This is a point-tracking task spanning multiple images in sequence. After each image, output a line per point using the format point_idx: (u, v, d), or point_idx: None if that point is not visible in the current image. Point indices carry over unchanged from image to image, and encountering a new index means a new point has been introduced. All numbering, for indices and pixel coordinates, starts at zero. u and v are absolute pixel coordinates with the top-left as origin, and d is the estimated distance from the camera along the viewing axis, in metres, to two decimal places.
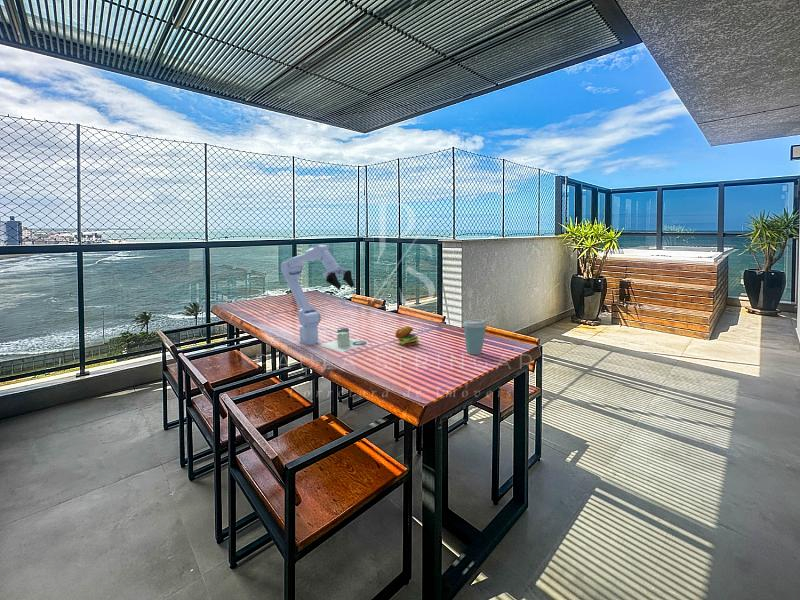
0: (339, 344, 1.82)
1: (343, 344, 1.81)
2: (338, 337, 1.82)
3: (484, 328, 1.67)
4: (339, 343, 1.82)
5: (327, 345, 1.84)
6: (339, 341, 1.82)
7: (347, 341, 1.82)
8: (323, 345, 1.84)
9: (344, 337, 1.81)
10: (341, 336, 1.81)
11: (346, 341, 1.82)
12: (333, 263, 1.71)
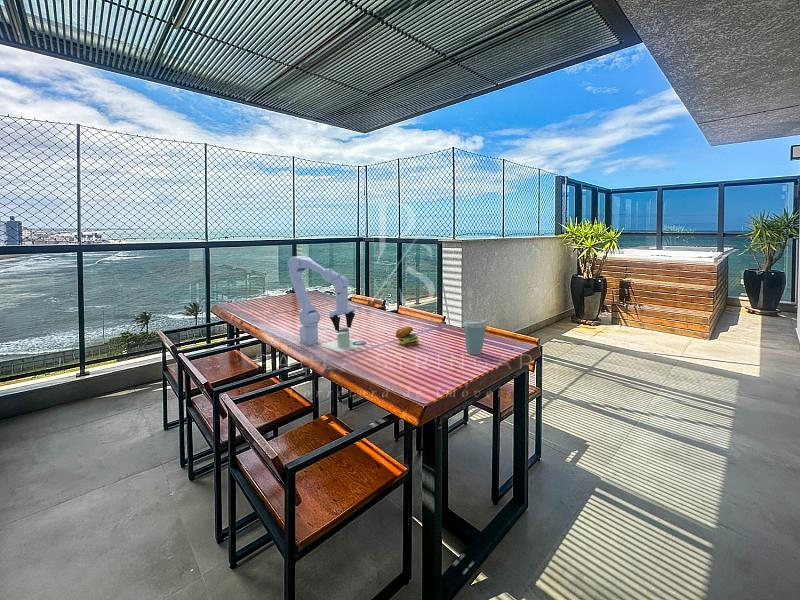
0: (339, 344, 1.82)
1: (343, 344, 1.81)
2: (338, 337, 1.82)
3: (484, 328, 1.67)
4: (339, 343, 1.82)
5: (327, 345, 1.84)
6: (339, 341, 1.82)
7: (347, 341, 1.82)
8: (323, 345, 1.84)
9: (344, 337, 1.81)
10: (341, 336, 1.81)
11: (346, 341, 1.82)
12: (344, 305, 1.78)
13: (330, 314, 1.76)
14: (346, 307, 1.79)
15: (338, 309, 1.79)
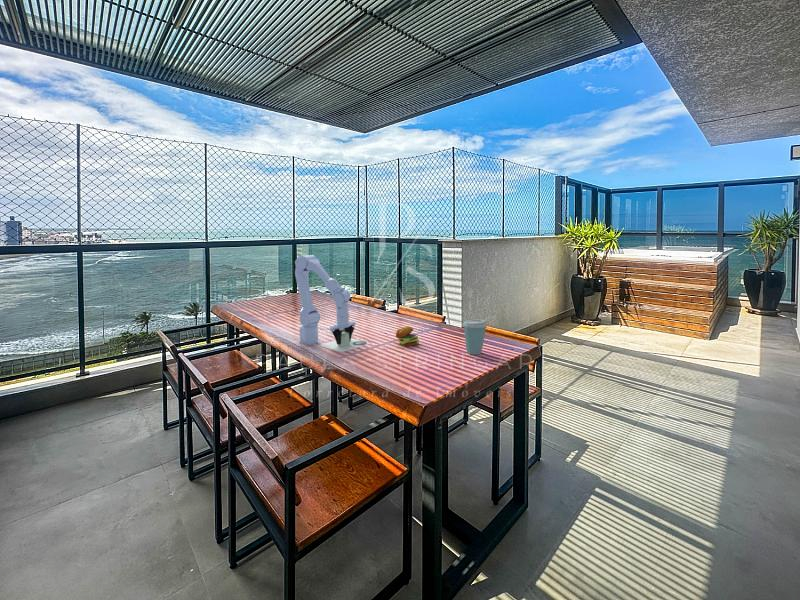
0: None
1: (343, 344, 1.81)
2: None
3: (484, 328, 1.67)
4: None
5: (327, 345, 1.84)
6: None
7: (347, 341, 1.82)
8: (323, 345, 1.84)
9: (344, 337, 1.81)
10: (341, 336, 1.81)
11: (346, 341, 1.82)
12: (345, 319, 1.80)
13: (331, 328, 1.77)
14: (347, 321, 1.81)
15: (339, 323, 1.80)
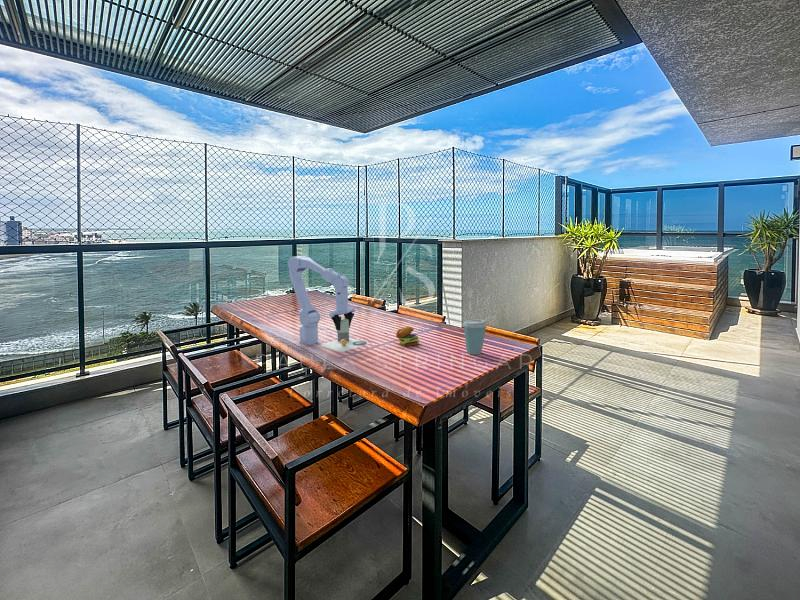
0: None
1: (342, 330, 1.80)
2: None
3: (484, 328, 1.67)
4: None
5: (327, 345, 1.84)
6: None
7: (346, 327, 1.81)
8: (323, 345, 1.84)
9: (343, 323, 1.80)
10: (340, 322, 1.79)
11: (346, 327, 1.81)
12: (344, 305, 1.78)
13: (330, 314, 1.76)
14: (346, 307, 1.79)
15: (338, 309, 1.79)
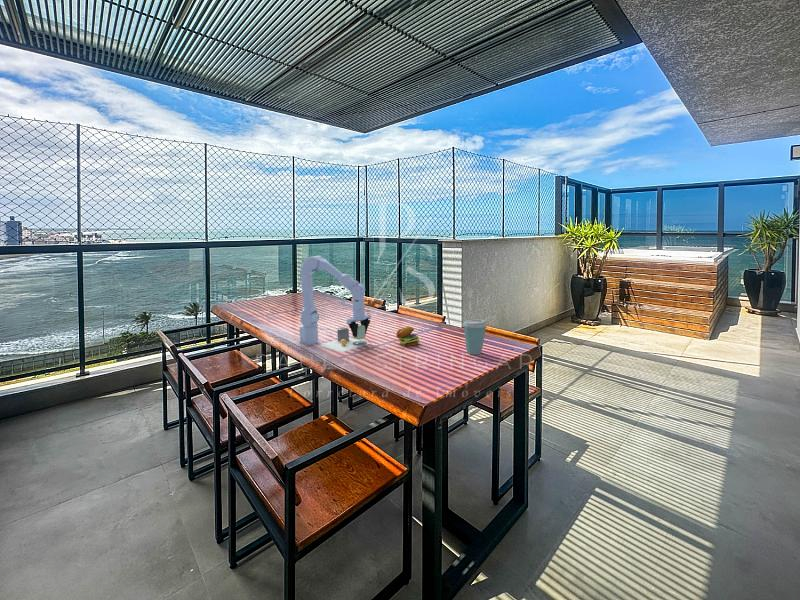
0: None
1: (359, 336, 1.84)
2: None
3: (484, 328, 1.67)
4: None
5: (327, 345, 1.84)
6: None
7: (363, 334, 1.84)
8: (323, 345, 1.84)
9: (360, 330, 1.83)
10: (357, 329, 1.83)
11: (363, 334, 1.84)
12: (361, 312, 1.82)
13: (347, 321, 1.80)
14: (363, 314, 1.83)
15: (355, 316, 1.82)
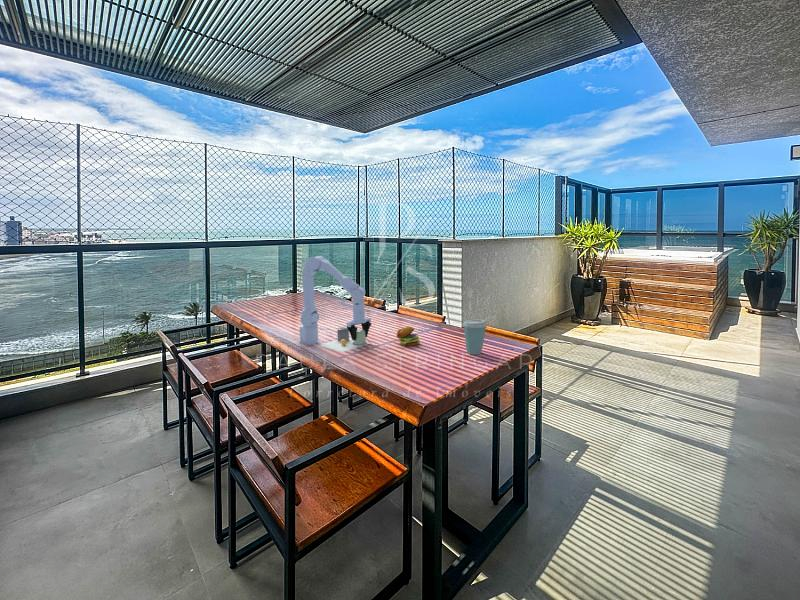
0: (355, 342, 1.85)
1: (359, 342, 1.84)
2: None
3: (484, 328, 1.67)
4: (355, 341, 1.84)
5: (327, 345, 1.84)
6: None
7: (363, 339, 1.85)
8: (323, 345, 1.84)
9: (360, 335, 1.83)
10: (357, 334, 1.83)
11: (363, 339, 1.84)
12: (361, 315, 1.82)
13: (347, 324, 1.80)
14: (363, 317, 1.83)
15: (355, 319, 1.83)
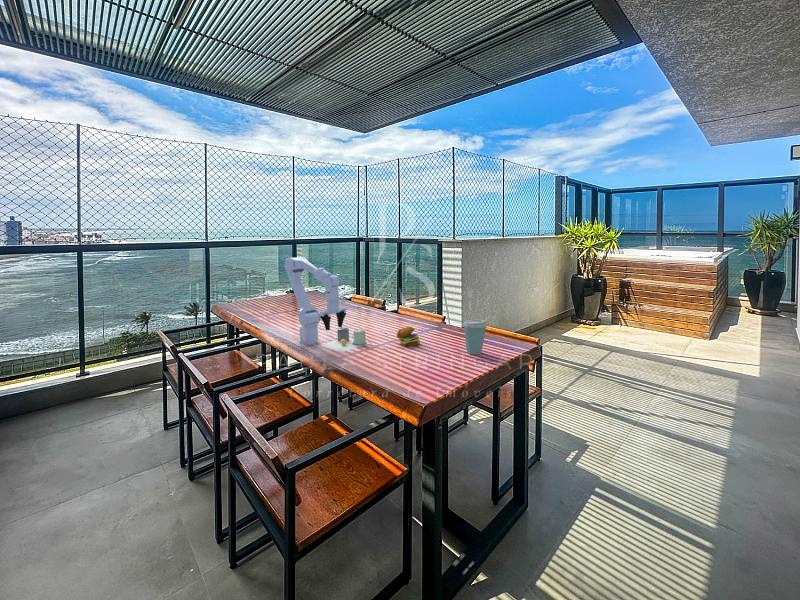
0: (355, 342, 1.85)
1: (359, 342, 1.84)
2: (354, 335, 1.84)
3: (484, 328, 1.67)
4: (355, 341, 1.84)
5: (327, 345, 1.84)
6: (355, 339, 1.84)
7: (363, 339, 1.85)
8: (323, 345, 1.84)
9: (360, 335, 1.83)
10: (357, 334, 1.83)
11: (363, 339, 1.84)
12: (335, 304, 1.77)
13: (320, 313, 1.74)
14: (337, 306, 1.78)
15: (329, 308, 1.77)
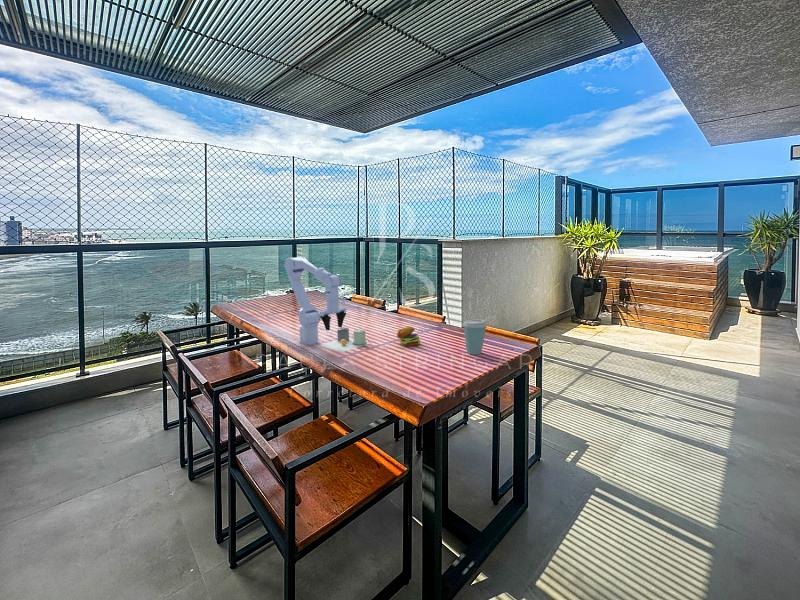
0: (355, 342, 1.85)
1: (359, 342, 1.84)
2: (354, 335, 1.84)
3: (484, 328, 1.67)
4: (355, 341, 1.84)
5: (327, 345, 1.84)
6: (355, 339, 1.84)
7: (363, 339, 1.85)
8: (323, 345, 1.84)
9: (360, 335, 1.83)
10: (357, 334, 1.83)
11: (363, 339, 1.84)
12: (335, 304, 1.77)
13: (320, 313, 1.74)
14: (337, 306, 1.78)
15: (329, 308, 1.77)
